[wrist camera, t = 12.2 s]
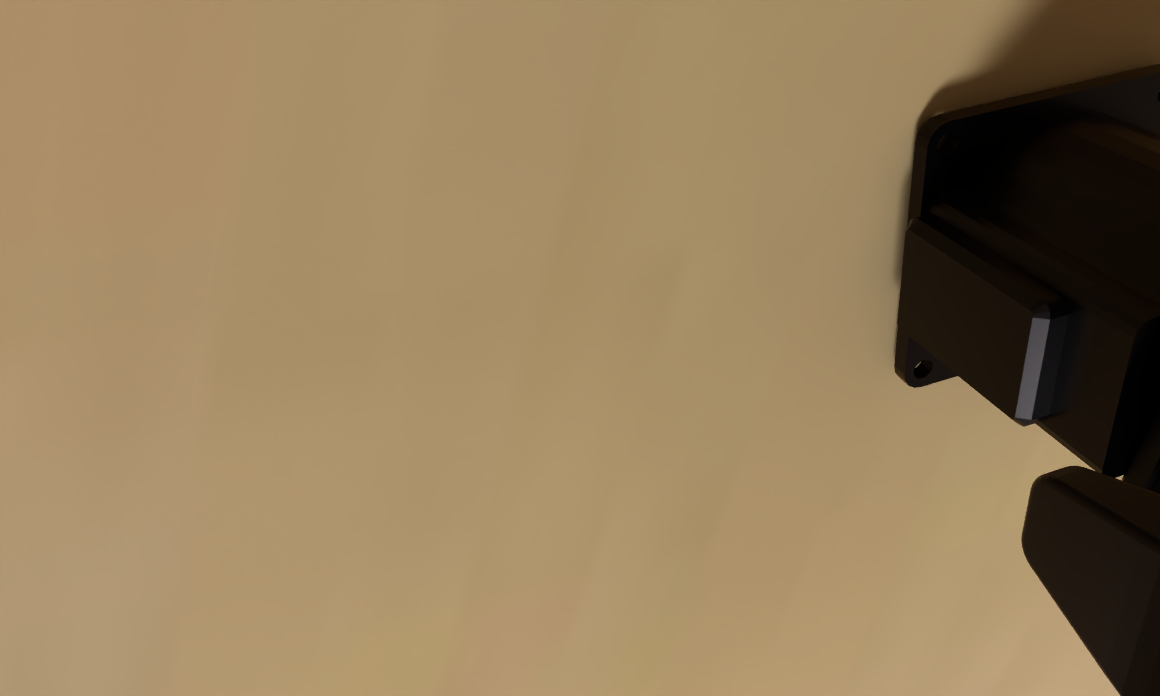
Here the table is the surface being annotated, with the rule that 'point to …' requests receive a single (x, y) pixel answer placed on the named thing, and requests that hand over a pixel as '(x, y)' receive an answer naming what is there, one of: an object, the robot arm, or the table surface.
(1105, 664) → the robot arm
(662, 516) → the table surface
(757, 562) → the table surface
